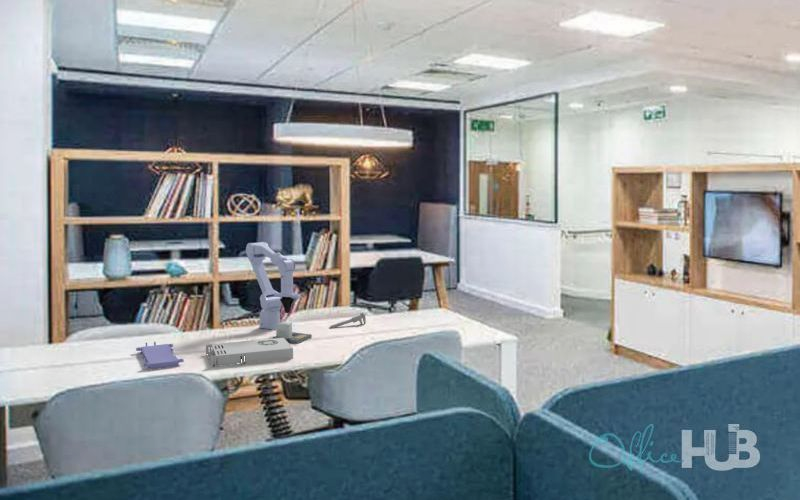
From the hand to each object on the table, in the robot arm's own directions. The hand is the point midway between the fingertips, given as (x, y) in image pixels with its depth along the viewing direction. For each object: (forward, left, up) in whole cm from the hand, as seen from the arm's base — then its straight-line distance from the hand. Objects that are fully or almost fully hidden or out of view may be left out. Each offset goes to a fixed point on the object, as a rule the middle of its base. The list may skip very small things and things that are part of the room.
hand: (287, 312), depth 310 cm
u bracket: (+10, -11, -9) cm, 17 cm away
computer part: (-22, -61, -10) cm, 65 cm away
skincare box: (+6, -11, -10) cm, 16 cm away
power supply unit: (+10, -43, -10) cm, 45 cm away
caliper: (+20, +23, -10) cm, 32 cm away
